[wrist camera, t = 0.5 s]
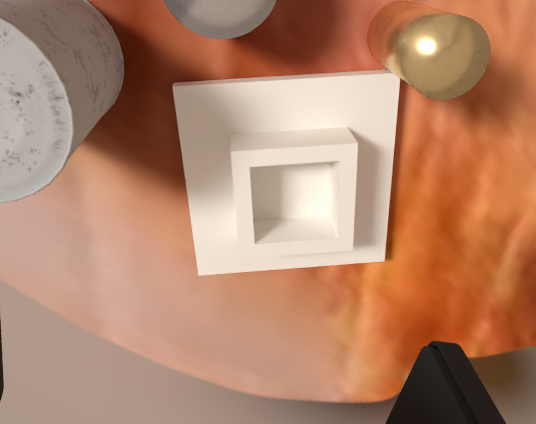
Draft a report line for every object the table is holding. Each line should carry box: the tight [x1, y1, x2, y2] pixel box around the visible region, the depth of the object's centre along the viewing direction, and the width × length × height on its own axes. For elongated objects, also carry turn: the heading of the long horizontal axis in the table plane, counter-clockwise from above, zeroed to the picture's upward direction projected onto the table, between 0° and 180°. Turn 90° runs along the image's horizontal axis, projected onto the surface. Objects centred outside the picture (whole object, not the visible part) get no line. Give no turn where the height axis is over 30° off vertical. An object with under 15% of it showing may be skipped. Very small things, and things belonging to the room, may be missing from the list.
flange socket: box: [172, 69, 400, 275], centre depth 36 cm, size 16×16×5 cm
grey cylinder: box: [0, 0, 124, 203], centre depth 28 cm, size 10×10×12 cm
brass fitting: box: [367, 1, 490, 100], centre depth 30 cm, size 4×4×9 cm
